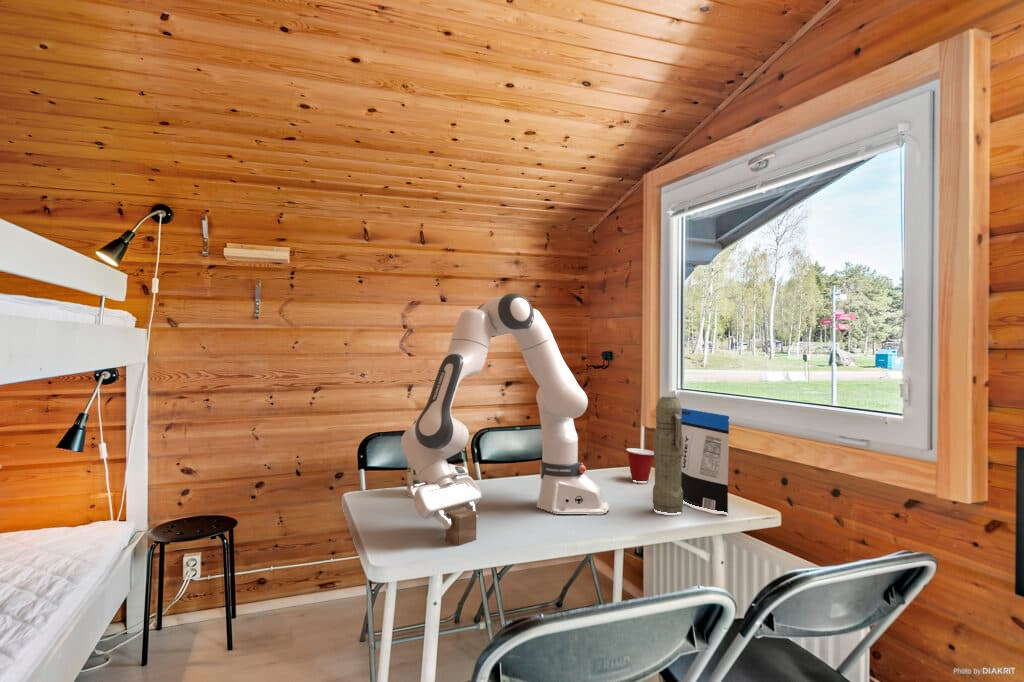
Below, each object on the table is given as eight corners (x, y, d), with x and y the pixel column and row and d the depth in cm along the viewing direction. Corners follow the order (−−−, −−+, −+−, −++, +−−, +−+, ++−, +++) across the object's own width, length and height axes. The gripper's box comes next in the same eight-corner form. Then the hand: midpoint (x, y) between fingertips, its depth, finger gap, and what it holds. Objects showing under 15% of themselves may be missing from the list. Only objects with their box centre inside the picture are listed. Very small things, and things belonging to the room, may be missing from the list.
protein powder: (714, 517, 175) (716, 416, 175) (666, 497, 197) (667, 408, 198) (740, 514, 178) (741, 415, 178) (689, 495, 201) (690, 407, 201)
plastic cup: (658, 485, 214) (659, 452, 214) (629, 485, 214) (629, 452, 214) (651, 479, 225) (651, 447, 225) (623, 478, 225) (623, 447, 225)
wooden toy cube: (445, 541, 150) (446, 512, 150) (463, 535, 155) (463, 508, 155) (458, 545, 147) (459, 516, 147) (476, 539, 152) (476, 511, 152)
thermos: (667, 505, 187) (668, 395, 188) (691, 515, 176) (693, 398, 177) (643, 508, 184) (645, 395, 184) (667, 518, 173) (669, 399, 173)
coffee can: (444, 493, 199) (444, 451, 199) (424, 500, 190) (424, 456, 190) (420, 489, 204) (421, 448, 204) (400, 495, 195) (400, 452, 195)
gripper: (412, 478, 148) (438, 525, 141) (470, 466, 163) (495, 508, 157) (401, 493, 150) (426, 540, 144) (458, 480, 166) (483, 521, 160)
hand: (462, 523), depth 150 cm, fingers open, 7 cm apart
